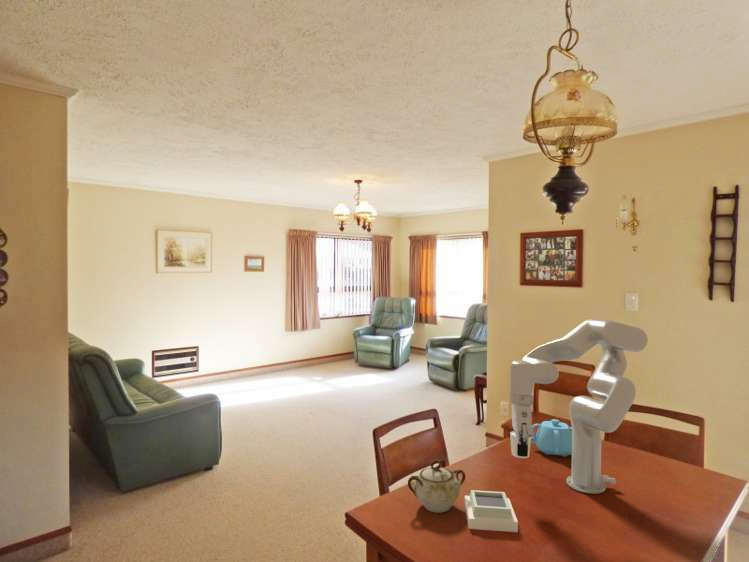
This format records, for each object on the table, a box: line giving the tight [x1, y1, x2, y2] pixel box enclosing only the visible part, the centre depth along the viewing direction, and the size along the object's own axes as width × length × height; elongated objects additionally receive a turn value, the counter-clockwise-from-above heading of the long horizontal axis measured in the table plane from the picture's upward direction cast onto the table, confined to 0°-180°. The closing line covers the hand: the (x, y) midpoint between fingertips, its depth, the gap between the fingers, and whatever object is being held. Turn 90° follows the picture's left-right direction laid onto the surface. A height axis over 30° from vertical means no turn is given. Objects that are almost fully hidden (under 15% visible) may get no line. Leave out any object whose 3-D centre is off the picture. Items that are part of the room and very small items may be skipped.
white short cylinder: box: [509, 430, 532, 459], centre depth 150 cm, size 7×7×7 cm
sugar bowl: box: [407, 459, 466, 514], centre depth 144 cm, size 20×15×15 cm
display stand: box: [464, 489, 519, 533], centre depth 137 cm, size 14×14×6 cm
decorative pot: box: [531, 418, 572, 458], centre depth 190 cm, size 16×16×14 cm
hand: (520, 451), depth 150 cm, fingers closed on white short cylinder, 6 cm apart
